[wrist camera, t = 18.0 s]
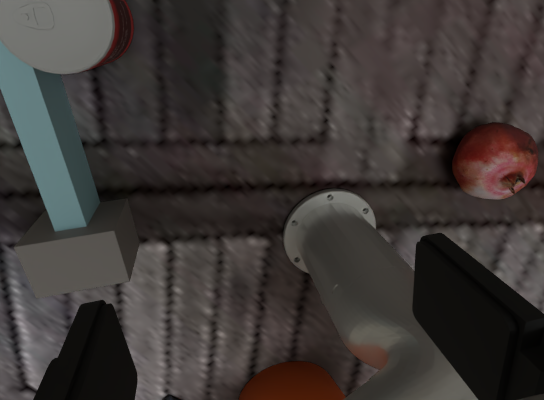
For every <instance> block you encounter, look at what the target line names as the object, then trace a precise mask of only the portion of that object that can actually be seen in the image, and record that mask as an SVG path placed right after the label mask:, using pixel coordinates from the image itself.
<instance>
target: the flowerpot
mask: <svg viewBox="0 0 544 400" xmlns="http://www.w3.org/2000/svg"><path fill="white" fill-rule="evenodd" d="M345 398H346V397H345V395H344V394H343V392H342V391H341V390H340V388H339V387H338V386H337V384H336V383H335V382H334V380H333V379H332V378H331V376H330V375H329V374H328V373H327V372H326V371H325V370H324V369H323V368H321V367H320V366H318V365H316V364H313V363H310V362H303V361H291V362H284V363H280V364H277V365H274V366H271V367H269V368H267V369H265V370H263V371H261V372H260V373H258V374H257V375H255V376H254V377H253V378H252V379H251V380H250V381H249V382H248V383H247V384H246V385H245V387H244V388H243V390H242V392H241V394H240V396H239V400H343V399H345Z"/></svg>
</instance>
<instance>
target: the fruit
mask: <svg viewBox="0 0 544 400" xmlns="http://www.w3.org/2000/svg"><path fill="white" fill-rule="evenodd" d="M537 164H538V149H537V146H536V144H535V141H534V140H533V138H532V137H531V135H529V134H528V133H527V132H524V131H523V130H521V129H519V128H516V127H514V126H512V125H509V124H504V123H497V122H493V123H488V124H484V125H480V126H477V127H475V128H474V129H472V130H471V131H469V132H468V133H467V134H466V135H465V136H464V137H463V138H462V140H461V142H460V143H459V145H458V147H457V150H456V152H455V155H454V157H453V160H452V171H453V174H454V176H455V178H456V180H457V182H458V183H459V185H460V187H461V189H462V190H463V191H464V192H466V193H468V194H470V195H472V196H475V197H480V198H485V199H504V198H507V197H510V196H512V195H514V194H515V193H516V192H518V191H519V190H520V189H522V188H523V187H524V186H526V185H527V183H528V182H529V181H530V180H531V179H532V177H533V176H534V175H535V173H536V169H537Z"/></svg>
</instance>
